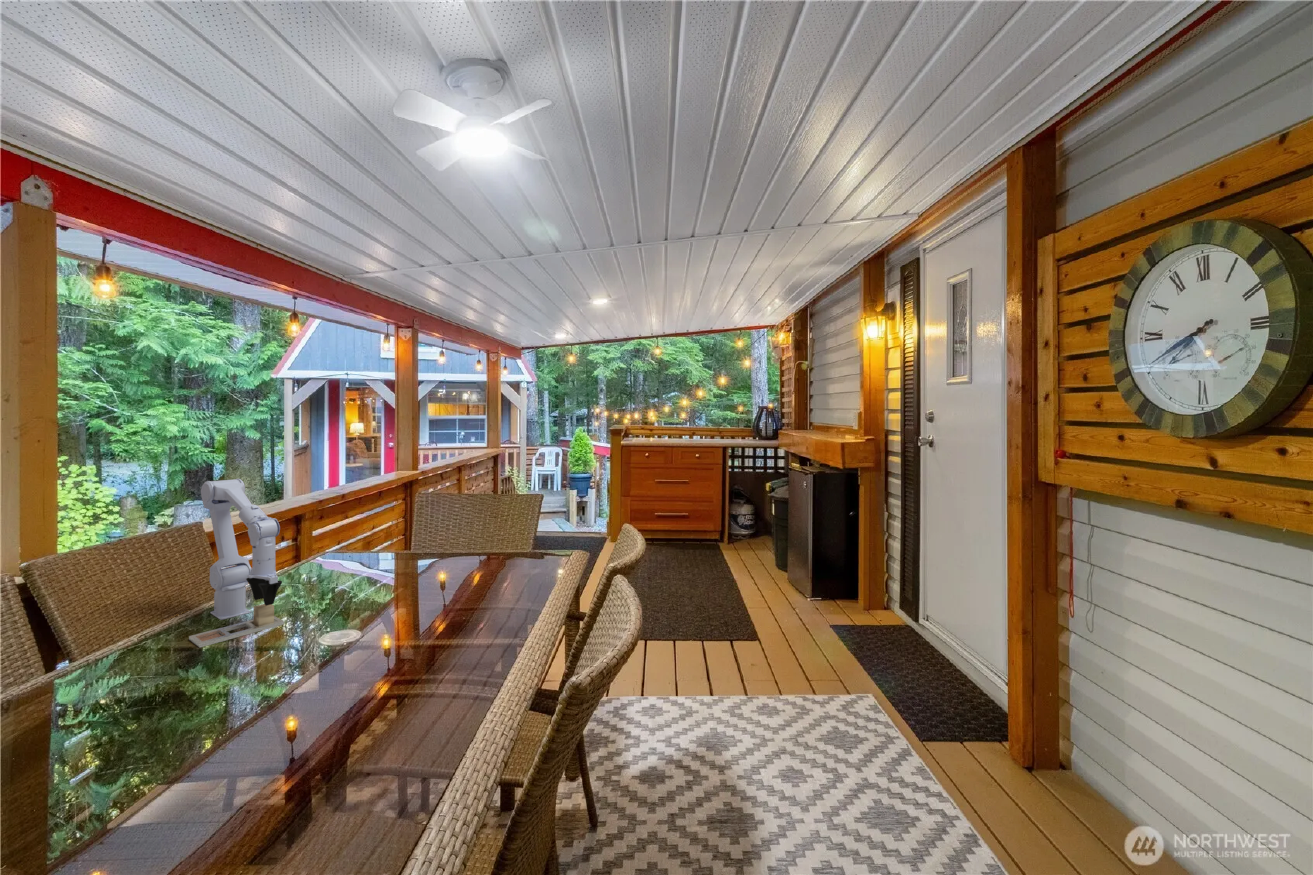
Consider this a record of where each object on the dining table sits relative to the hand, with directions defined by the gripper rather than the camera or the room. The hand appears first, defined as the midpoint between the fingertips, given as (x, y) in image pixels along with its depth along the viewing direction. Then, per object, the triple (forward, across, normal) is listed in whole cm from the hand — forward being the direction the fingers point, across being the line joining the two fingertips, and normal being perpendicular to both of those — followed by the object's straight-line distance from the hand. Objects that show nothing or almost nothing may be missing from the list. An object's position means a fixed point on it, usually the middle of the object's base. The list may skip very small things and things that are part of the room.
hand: (264, 601), depth 161 cm
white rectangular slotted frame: (+7, 0, -6) cm, 10 cm away
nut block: (+7, 0, 0) cm, 7 cm away
